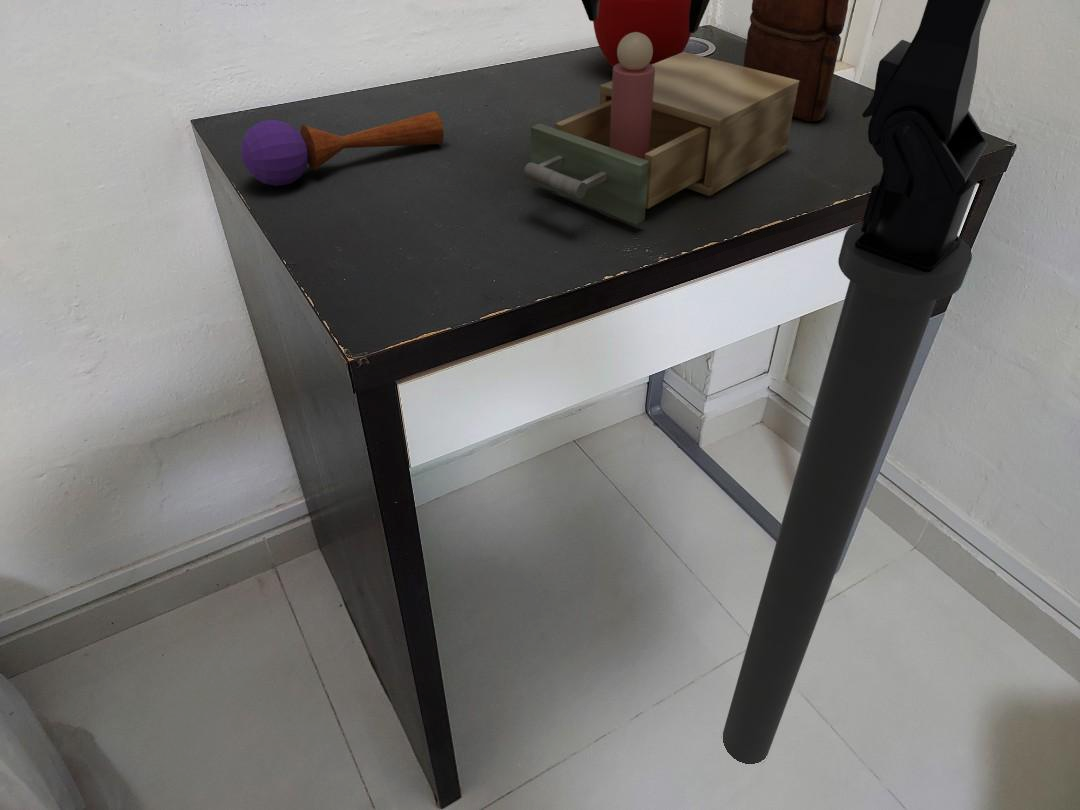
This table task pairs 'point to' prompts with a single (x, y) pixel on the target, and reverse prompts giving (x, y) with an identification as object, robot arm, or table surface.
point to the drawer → (617, 162)
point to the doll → (632, 96)
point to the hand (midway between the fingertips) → (642, 25)
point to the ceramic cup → (643, 26)
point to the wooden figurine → (798, 47)
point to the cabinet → (725, 112)
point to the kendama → (324, 145)
